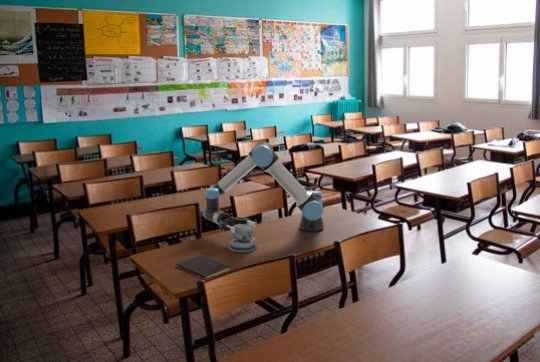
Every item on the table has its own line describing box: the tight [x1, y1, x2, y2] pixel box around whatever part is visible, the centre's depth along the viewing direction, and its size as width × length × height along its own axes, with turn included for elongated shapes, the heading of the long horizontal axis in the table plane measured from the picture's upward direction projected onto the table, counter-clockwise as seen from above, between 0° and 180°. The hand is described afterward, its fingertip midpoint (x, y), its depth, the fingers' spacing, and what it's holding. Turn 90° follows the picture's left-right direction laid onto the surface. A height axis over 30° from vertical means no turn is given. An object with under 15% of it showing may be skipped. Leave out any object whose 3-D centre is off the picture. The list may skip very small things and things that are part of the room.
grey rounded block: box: [231, 224, 254, 242], centre depth 282 cm, size 14×10×10 cm
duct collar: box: [227, 236, 258, 254], centre depth 283 cm, size 16×16×5 cm
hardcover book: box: [175, 254, 231, 280], centre depth 256 cm, size 16×23×2 cm
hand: (244, 227), depth 279 cm, fingers open, 13 cm apart
